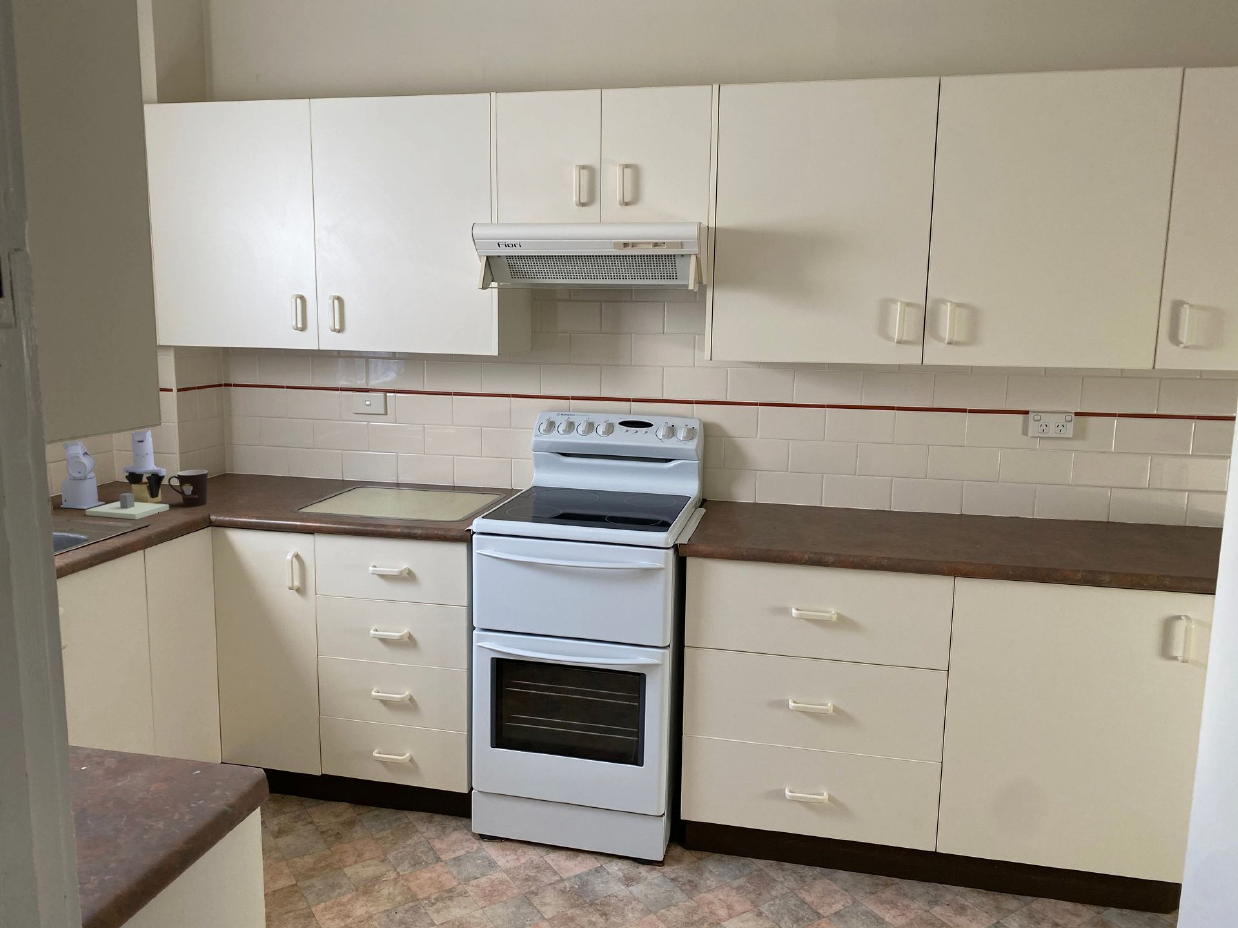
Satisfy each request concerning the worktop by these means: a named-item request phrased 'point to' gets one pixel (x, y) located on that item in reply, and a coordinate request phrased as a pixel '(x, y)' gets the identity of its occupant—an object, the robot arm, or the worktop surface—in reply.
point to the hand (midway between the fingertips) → (147, 496)
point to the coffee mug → (192, 487)
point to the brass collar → (144, 493)
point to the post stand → (127, 508)
